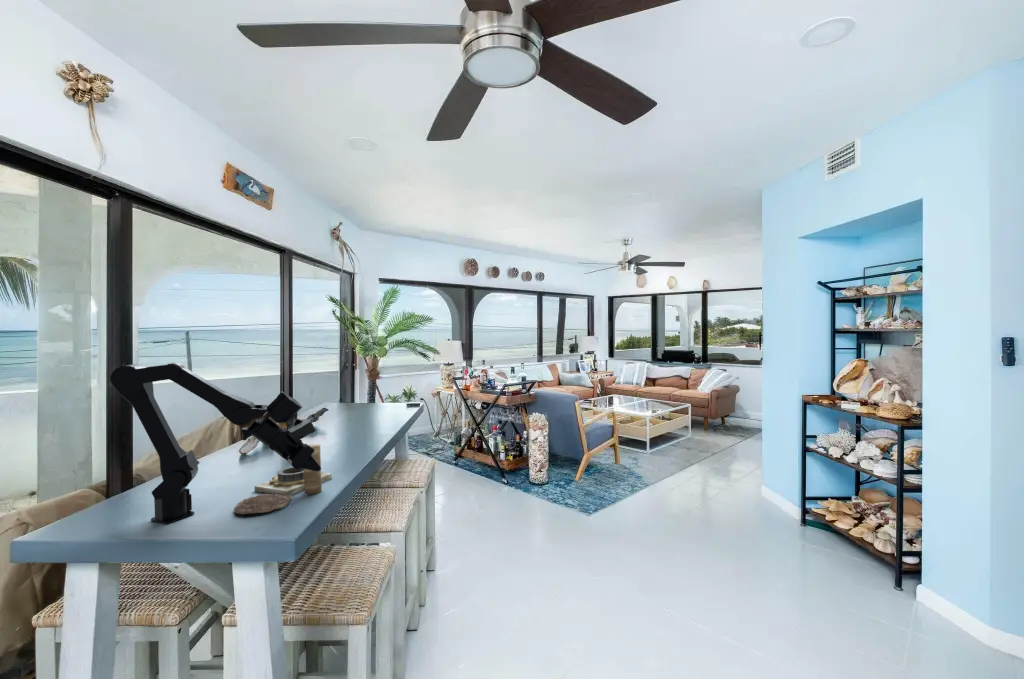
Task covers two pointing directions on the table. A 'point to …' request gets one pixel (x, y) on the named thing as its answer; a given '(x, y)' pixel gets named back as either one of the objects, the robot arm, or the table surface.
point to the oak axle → (313, 474)
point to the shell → (261, 505)
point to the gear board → (287, 482)
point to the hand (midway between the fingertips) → (317, 467)
